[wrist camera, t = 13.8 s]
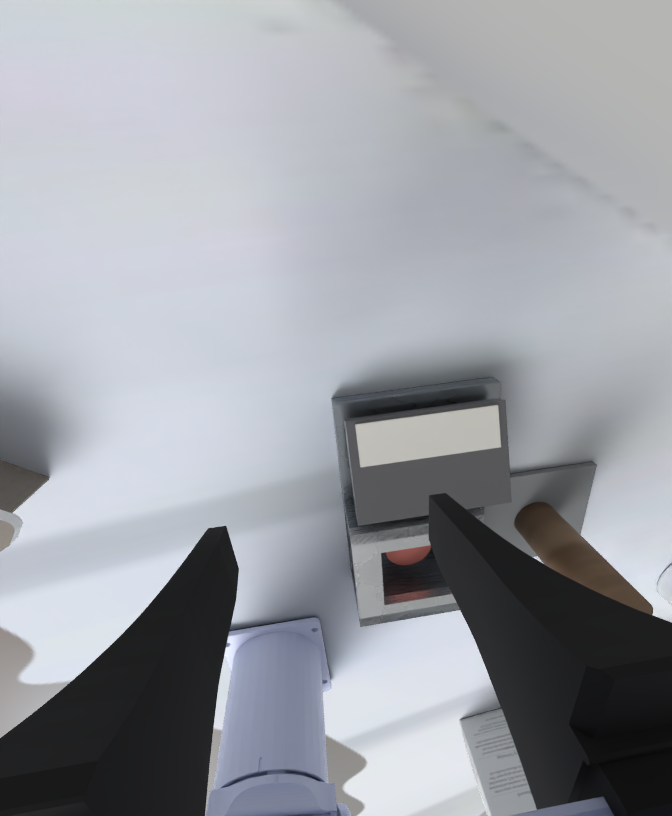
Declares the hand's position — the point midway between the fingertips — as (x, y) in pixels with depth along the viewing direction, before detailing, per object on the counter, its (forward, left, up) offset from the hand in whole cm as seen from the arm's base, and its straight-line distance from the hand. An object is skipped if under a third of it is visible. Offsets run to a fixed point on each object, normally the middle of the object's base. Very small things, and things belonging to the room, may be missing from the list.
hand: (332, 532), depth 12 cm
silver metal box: (-7, -6, -10) cm, 13 cm away
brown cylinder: (-11, -15, -10) cm, 21 cm away
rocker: (-3, -6, -7) cm, 10 cm away
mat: (-11, -15, -10) cm, 21 cm away
